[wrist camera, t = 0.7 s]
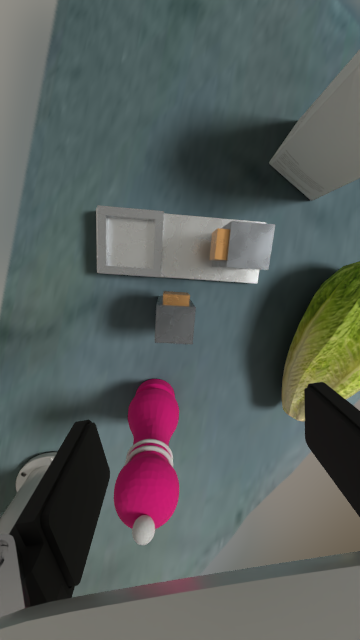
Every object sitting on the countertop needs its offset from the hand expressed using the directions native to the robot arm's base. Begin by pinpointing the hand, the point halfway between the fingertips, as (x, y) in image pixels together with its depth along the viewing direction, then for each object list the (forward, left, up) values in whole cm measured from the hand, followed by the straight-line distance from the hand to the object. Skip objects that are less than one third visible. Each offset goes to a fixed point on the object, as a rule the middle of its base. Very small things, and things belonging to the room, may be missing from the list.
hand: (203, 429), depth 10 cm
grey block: (0, +1, -25) cm, 25 cm away
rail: (+9, 0, -24) cm, 26 cm away
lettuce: (-3, -22, -25) cm, 34 cm away
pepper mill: (-14, +3, -25) cm, 28 cm away
